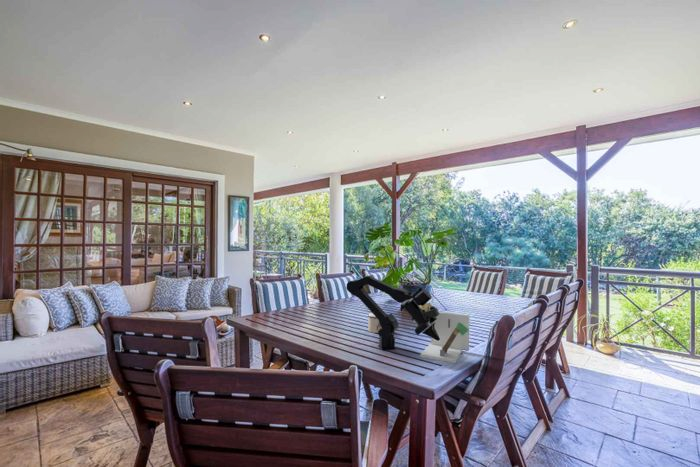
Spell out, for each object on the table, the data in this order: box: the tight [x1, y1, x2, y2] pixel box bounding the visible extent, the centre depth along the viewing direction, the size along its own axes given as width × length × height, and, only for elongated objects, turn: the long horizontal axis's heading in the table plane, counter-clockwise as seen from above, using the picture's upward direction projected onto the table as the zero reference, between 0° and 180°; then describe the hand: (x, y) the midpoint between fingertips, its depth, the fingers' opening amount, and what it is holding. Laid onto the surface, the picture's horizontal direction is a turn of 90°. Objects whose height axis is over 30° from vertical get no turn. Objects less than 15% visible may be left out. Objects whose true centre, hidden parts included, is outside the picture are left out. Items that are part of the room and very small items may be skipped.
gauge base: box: [420, 311, 470, 364], centre depth 158 cm, size 18×19×17 cm
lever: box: [442, 328, 460, 353], centre depth 152 cm, size 2×3×12 cm, turn 153°
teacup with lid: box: [367, 312, 382, 334], centre depth 196 cm, size 12×9×12 cm
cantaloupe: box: [413, 301, 433, 326], centre depth 204 cm, size 15×15×15 cm
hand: (439, 340), depth 154 cm, fingers closed
